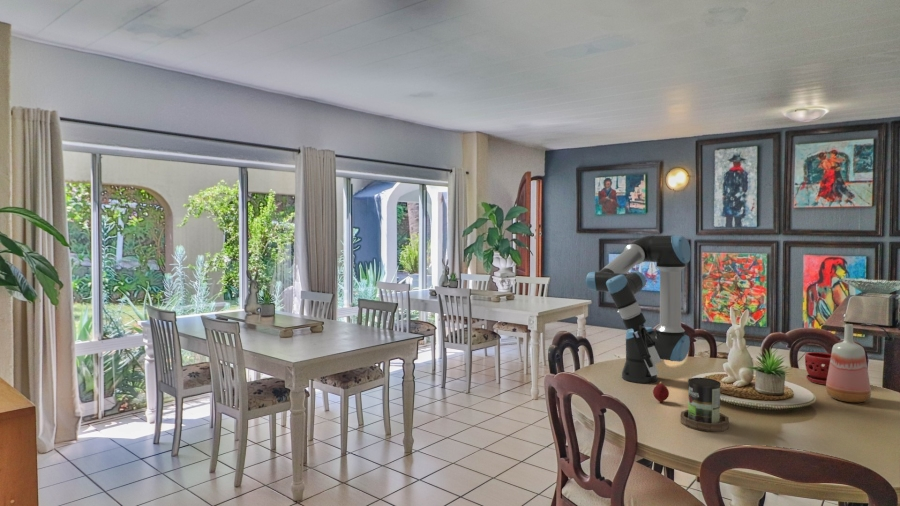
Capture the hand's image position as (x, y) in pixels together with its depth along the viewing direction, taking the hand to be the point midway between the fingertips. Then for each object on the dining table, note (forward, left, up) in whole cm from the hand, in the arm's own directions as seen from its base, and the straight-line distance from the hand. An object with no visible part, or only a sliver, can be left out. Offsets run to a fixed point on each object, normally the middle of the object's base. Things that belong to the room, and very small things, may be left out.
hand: (656, 368), depth 205 cm
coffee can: (+4, +16, -16) cm, 23 cm away
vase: (-47, +66, -17) cm, 83 cm away
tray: (+4, +16, -17) cm, 24 cm away
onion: (-15, 0, -17) cm, 23 cm away
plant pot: (-71, +61, -17) cm, 95 cm away
